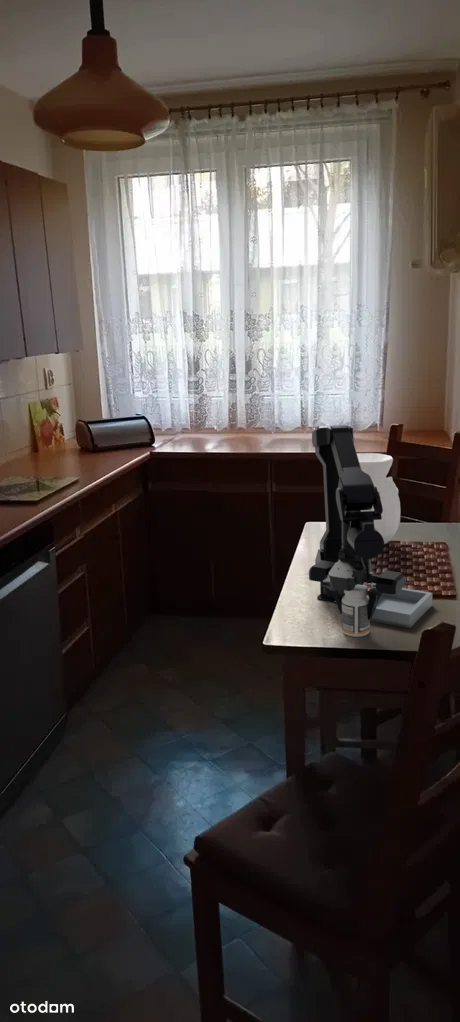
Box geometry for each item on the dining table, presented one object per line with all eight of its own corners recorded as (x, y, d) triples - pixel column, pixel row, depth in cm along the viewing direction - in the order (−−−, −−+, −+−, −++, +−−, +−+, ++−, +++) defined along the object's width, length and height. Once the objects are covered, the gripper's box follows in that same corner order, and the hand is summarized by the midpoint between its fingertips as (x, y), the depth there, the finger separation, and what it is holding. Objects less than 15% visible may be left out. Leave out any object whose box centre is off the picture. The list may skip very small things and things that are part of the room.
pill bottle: (366, 626, 164) (367, 581, 161) (372, 637, 158) (373, 591, 156) (339, 627, 164) (339, 582, 161) (344, 638, 158) (344, 592, 156)
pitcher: (390, 559, 205) (391, 465, 198) (322, 552, 213) (322, 461, 206) (407, 539, 221) (409, 452, 214) (344, 533, 229) (344, 449, 222)
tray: (355, 617, 168) (356, 604, 168) (380, 596, 180) (380, 584, 179) (409, 628, 162) (410, 614, 161) (432, 605, 173) (432, 592, 173)
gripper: (295, 548, 155) (296, 621, 159) (385, 561, 145) (384, 639, 149) (320, 533, 164) (321, 603, 168) (406, 545, 154) (405, 619, 158)
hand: (355, 616), depth 160 cm, fingers closed on pill bottle, 6 cm apart
